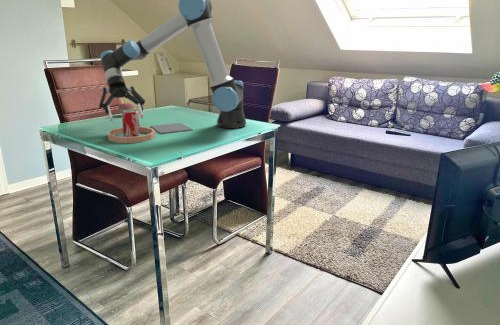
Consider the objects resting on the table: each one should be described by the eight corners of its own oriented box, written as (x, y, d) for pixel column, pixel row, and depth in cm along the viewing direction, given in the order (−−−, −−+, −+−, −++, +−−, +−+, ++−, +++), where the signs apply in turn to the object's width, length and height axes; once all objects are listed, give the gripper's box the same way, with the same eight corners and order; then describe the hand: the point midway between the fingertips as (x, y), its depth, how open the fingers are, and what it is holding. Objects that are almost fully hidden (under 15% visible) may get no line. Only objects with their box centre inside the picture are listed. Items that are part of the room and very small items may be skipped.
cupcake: (130, 117, 210) (128, 95, 206) (116, 116, 212) (114, 95, 208) (137, 114, 218) (135, 93, 214) (123, 113, 219) (122, 92, 216)
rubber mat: (180, 123, 198) (180, 122, 198) (192, 130, 185) (192, 129, 185) (150, 127, 190) (150, 125, 190) (160, 134, 177) (160, 132, 177)
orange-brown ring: (161, 132, 179) (160, 127, 178) (144, 144, 160) (144, 138, 160) (120, 130, 181) (120, 125, 181) (99, 141, 163) (99, 136, 162)
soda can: (131, 140, 166) (129, 113, 162) (120, 137, 170) (117, 111, 166) (143, 136, 172) (141, 110, 168) (132, 134, 175) (130, 108, 172)
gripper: (140, 84, 186) (152, 120, 179) (86, 86, 173) (97, 125, 166) (143, 74, 180) (155, 110, 173) (87, 76, 168) (98, 115, 160)
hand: (127, 118), depth 170 cm, fingers open, 13 cm apart
